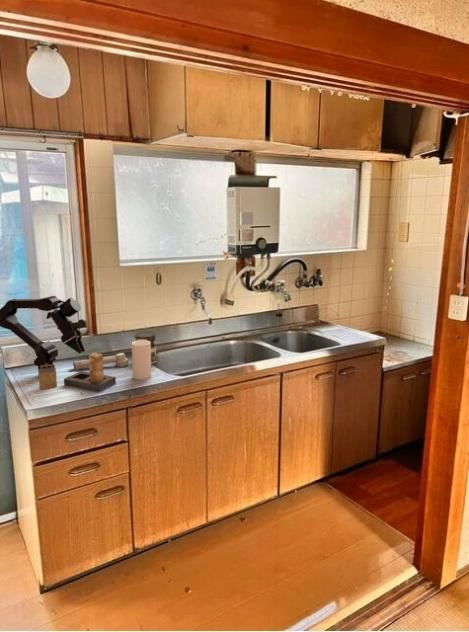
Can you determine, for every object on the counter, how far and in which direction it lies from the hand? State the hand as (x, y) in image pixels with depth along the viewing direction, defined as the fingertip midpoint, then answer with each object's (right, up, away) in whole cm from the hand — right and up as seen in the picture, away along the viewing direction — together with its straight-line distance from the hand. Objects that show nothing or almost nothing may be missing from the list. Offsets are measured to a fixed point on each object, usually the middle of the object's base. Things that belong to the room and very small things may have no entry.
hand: (82, 352), depth 203 cm
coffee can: (+22, -7, +29) cm, 37 cm away
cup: (+25, -12, +8) cm, 28 cm away
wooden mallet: (+3, -9, +20) cm, 22 cm away
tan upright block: (-12, -15, -6) cm, 20 cm away
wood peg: (+8, -14, -4) cm, 17 cm away
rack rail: (+4, -14, -3) cm, 15 cm away
